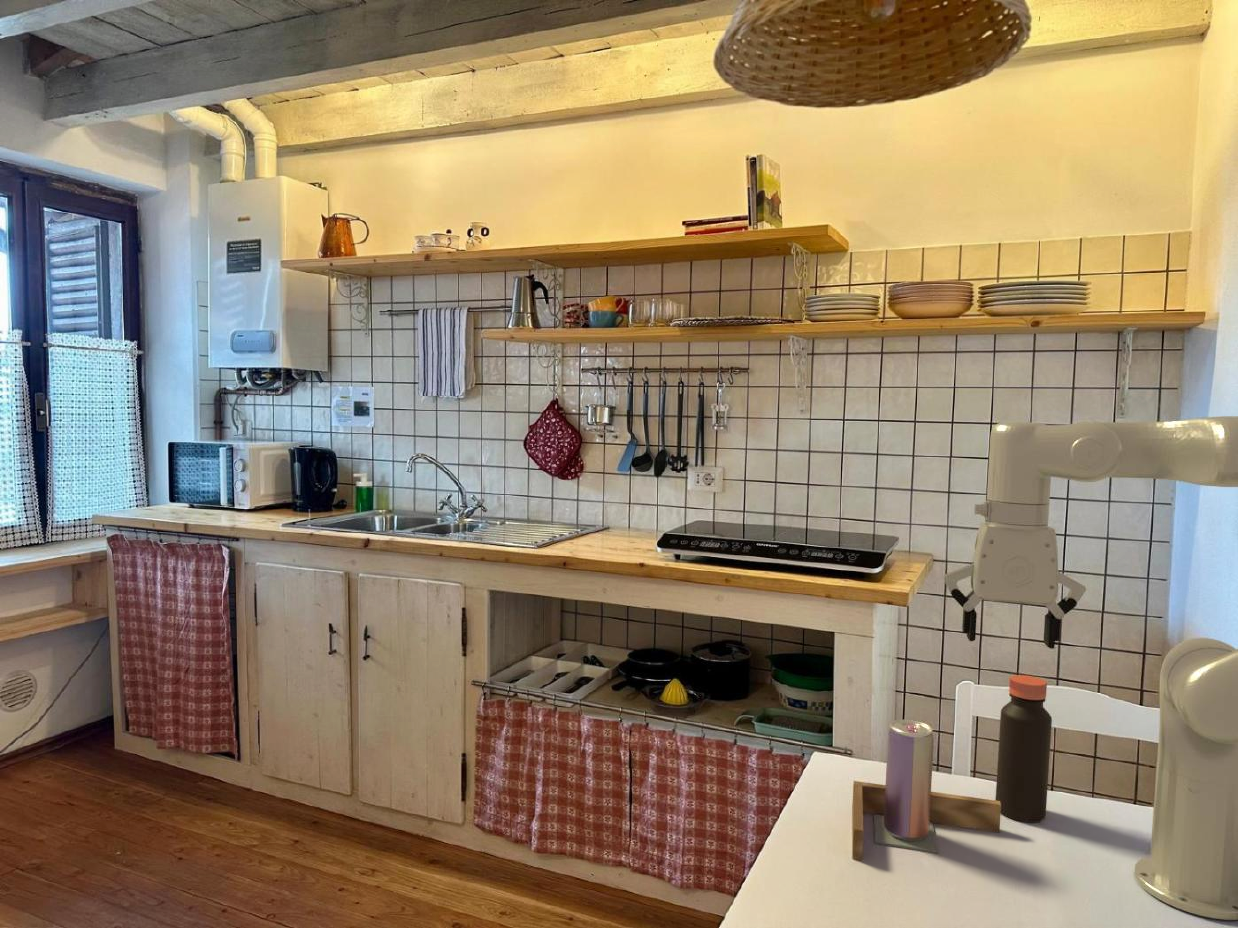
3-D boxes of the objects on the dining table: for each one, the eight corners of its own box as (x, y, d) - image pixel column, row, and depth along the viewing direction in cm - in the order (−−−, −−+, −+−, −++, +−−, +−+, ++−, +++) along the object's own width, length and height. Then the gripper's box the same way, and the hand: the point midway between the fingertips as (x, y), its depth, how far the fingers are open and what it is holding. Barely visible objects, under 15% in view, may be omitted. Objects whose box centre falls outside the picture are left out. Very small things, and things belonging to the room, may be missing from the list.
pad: (932, 825, 120) (932, 823, 120) (937, 853, 113) (937, 850, 113) (873, 816, 122) (873, 814, 122) (875, 843, 115) (875, 841, 115)
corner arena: (998, 828, 120) (999, 800, 120) (1018, 885, 105) (1020, 854, 105) (852, 806, 125) (853, 780, 125) (852, 858, 111) (853, 828, 110)
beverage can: (885, 839, 115) (891, 732, 114) (881, 819, 121) (886, 716, 120) (931, 845, 114) (937, 737, 113) (925, 824, 120) (930, 721, 119)
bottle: (1027, 827, 120) (1035, 690, 119) (985, 807, 126) (993, 676, 125) (1055, 817, 124) (1064, 683, 123) (1013, 798, 130) (1021, 670, 128)
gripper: (950, 514, 111) (943, 643, 112) (1097, 522, 106) (1088, 656, 107) (944, 508, 118) (937, 629, 119) (1081, 516, 113) (1073, 641, 114)
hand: (1009, 642), depth 113 cm, fingers open, 9 cm apart
